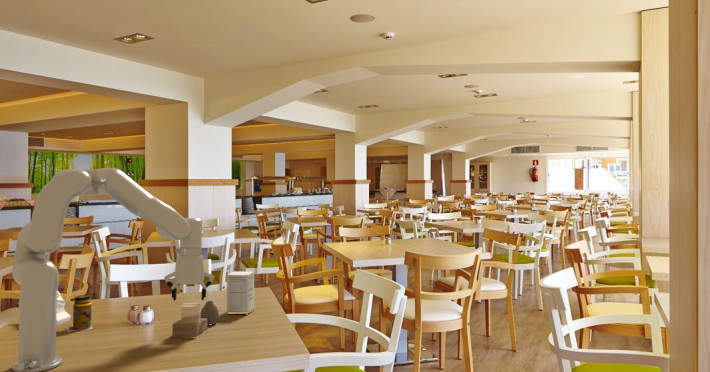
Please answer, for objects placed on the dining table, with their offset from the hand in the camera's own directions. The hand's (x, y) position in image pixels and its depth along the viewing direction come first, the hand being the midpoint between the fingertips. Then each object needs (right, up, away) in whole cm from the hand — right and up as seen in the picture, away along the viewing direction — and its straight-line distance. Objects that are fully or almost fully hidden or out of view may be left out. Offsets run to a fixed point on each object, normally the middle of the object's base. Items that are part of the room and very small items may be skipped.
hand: (188, 299), depth 188 cm
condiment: (-43, -13, +7) cm, 45 cm away
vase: (+3, -13, +14) cm, 20 cm away
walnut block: (0, -13, +1) cm, 13 cm away
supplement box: (+11, -13, +34) cm, 38 cm away
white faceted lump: (-59, -12, +16) cm, 63 cm away
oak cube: (+1, -8, 0) cm, 8 cm away
